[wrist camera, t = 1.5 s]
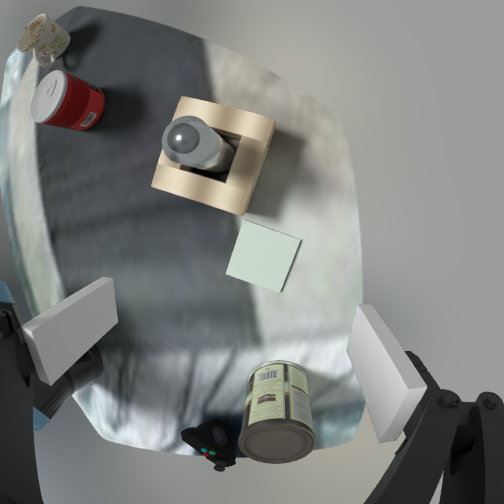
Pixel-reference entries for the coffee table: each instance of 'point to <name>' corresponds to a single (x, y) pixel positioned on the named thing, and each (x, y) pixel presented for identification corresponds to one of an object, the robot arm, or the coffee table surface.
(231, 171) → the housing
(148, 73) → the coffee table surface
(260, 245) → the pad
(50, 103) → the canned food
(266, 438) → the coffee can
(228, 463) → the controller
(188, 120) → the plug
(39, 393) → the robot arm
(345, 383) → the coffee table surface
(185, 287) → the coffee table surface
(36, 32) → the mug
